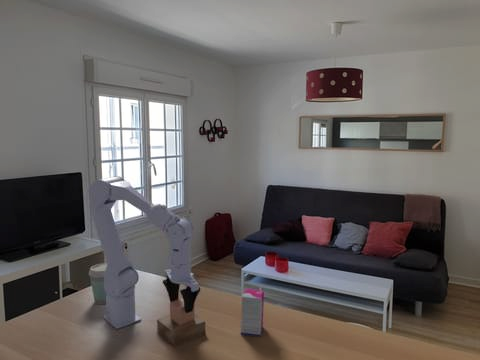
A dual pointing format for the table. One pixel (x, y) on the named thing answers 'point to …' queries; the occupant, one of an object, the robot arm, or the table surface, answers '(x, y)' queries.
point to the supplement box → (252, 312)
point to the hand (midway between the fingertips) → (181, 307)
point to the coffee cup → (98, 283)
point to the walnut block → (180, 329)
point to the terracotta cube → (180, 312)
